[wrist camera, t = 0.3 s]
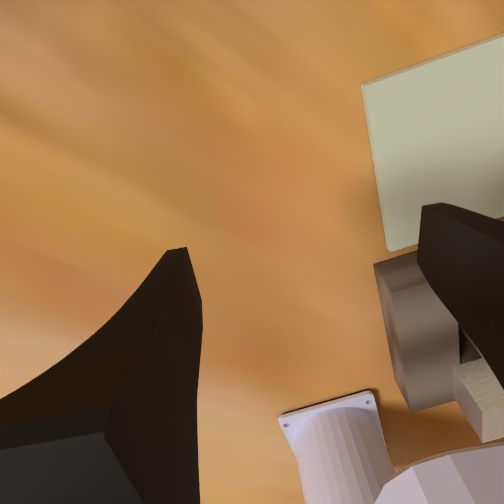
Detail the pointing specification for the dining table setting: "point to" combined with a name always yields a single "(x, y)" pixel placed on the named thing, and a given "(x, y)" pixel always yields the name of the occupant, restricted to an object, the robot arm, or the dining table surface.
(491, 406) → the t-key
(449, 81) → the pad
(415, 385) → the block
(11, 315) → the dining table surface
